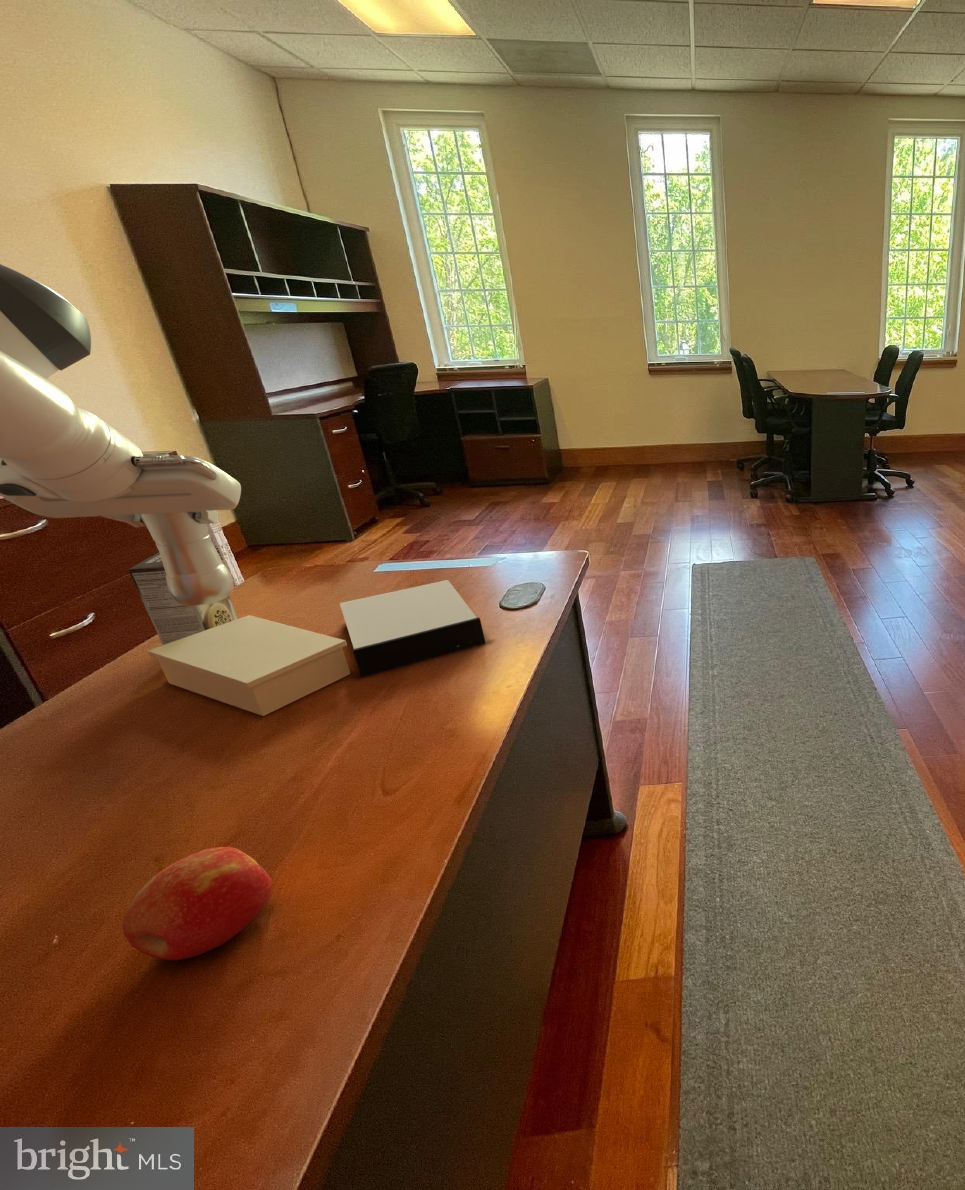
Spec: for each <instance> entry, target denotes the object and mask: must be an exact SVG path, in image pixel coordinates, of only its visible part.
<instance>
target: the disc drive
mask: <svg viewBox="0 0 965 1190" xmlns="http://www.w3.org/2000/svg"><path fill="white" fill-rule="evenodd" d="M339 606H340V609H341V612H342V617H343V618H344V622H345V624H346V628H347V631H348V635H349V638H350V641H351V644H352V653H353V656H354V659H355V662H356V665H357V668H358V671H359V675H360V677H361V678H364V677H367V676H370V675H375V674H378V673H383V672H387V671H389V670H392V669H396V668H401V667H405V666H407V665H410V664H416V663H418V662H422V661H426V660H430V659H433V658H437V657H440V656H444V655H448V654H451V653H455V652H458V651H462V650H465V649H469V648H470V649H471V648H473V647H477V646H480V645H484V644H486V638H485V635H484V630H483V625H482V620H481V618H480V617H478V616H476V614H475V612H473V610H472V609H471V608H470V607H469V605H468V604H467V603H466V600H464V599H463V597H462V595H460V593H459V592H458V591H457V590H456V588H455V587H454V586H453V585H452V582H450V580H449V579H445V580H441V581H436V582H430V583H427V584H422V585H418V586H413V587H408V588H403V589H398V590H393V591H390V592H385V593H380V594H375V595H371V596H366V597H361V598H357V599H352V600H347V601H343V602H339Z"/></svg>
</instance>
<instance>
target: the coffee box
mask: <svg viewBox="0 0 965 1190" xmlns="http://www.w3.org/2000/svg"><path fill="white" fill-rule="evenodd" d="M127 571H128V573H129V576H130V577H131V579H132V582H133V584H134V586H135V588H136V590H137V593H138V595H139V597H140V600H141V602H142V603H143V605H144V608H145V609H146V612H147V615H148V616H149V618H150V620H151V623H152V625H153V628H154V630H155V631H156V633H157V635H158V638H159V640H160V642H161V645H165V644H168V643H171V642H174V641H176V640H179V639H182V638H185V637H188V636H191V635H194V634H196V633H199V632H202V631H205V630H208V629H211V628H214V627H216V626H219V625H222V624H225V623H228V622H231V621H234V620H236V619H239V617H238V614H237V612H236V609H235V607H234V605H233V602H232V599H231V597H230V596H229V597H227V598H225V599H222V600H220V601H216V602H213V603H209V604H204V605H197V606H185V605H182V604H180V603H178V602H177V601H175V599H174V598H173V597H172V595H171V594H170V592H169V590H168V586H167V581H166V575H167V574H166V572H165V569H164V566H163V562H162V559H161V556H160V552H159V551H158V552H157V553H155V554H153V555H152V556H150V557H147V558H146V559H144V560H142V561H140V562H139V563H137V564H135V565H134V566H131V567H130V568H128V569H127Z"/></svg>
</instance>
